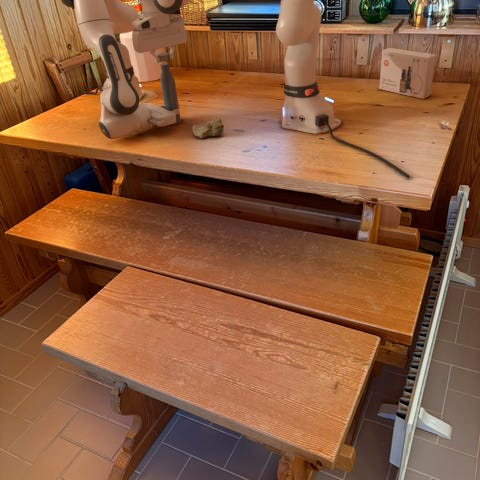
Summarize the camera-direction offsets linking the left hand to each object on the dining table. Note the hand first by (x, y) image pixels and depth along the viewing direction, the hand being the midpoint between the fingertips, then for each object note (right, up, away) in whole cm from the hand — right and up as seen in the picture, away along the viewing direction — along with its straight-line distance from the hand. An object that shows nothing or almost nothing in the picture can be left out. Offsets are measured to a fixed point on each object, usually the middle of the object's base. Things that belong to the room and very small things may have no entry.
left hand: (174, 108), depth 181 cm
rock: (+14, -13, -11) cm, 22 cm away
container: (-22, +35, +63) cm, 75 cm away
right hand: (-2, +15, -11) cm, 18 cm away
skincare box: (+93, +9, +8) cm, 93 cm away
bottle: (0, -5, +2) cm, 5 cm away
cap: (-2, +16, -12) cm, 20 cm away
